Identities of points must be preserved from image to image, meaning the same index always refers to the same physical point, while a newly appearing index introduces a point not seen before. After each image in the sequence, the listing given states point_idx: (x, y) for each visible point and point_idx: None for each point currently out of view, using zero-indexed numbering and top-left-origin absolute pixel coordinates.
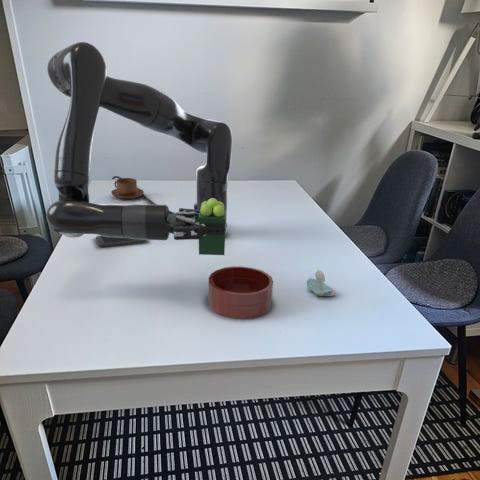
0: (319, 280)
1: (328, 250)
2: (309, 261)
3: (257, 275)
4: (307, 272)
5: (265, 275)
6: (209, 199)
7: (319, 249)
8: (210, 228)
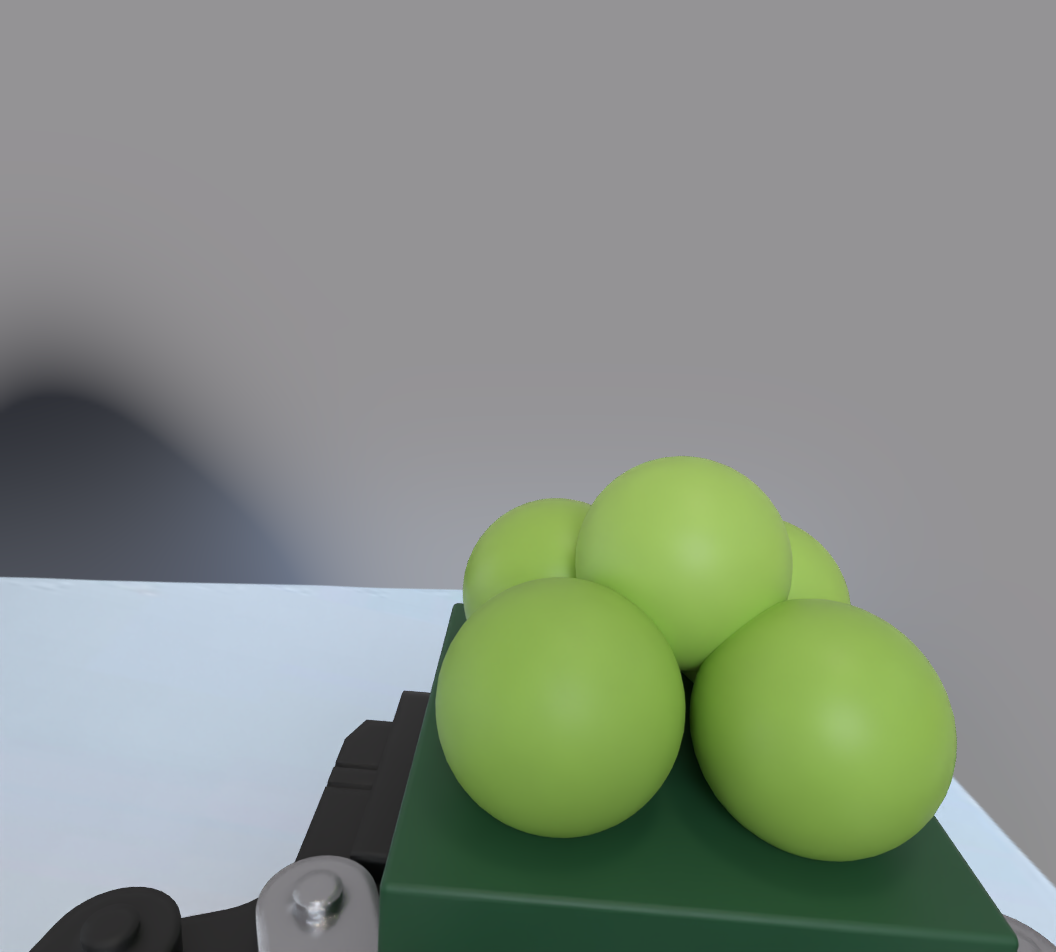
0: None
1: (44, 634)
2: (120, 711)
3: None
4: (246, 743)
5: None
6: (723, 499)
7: (6, 654)
8: None
